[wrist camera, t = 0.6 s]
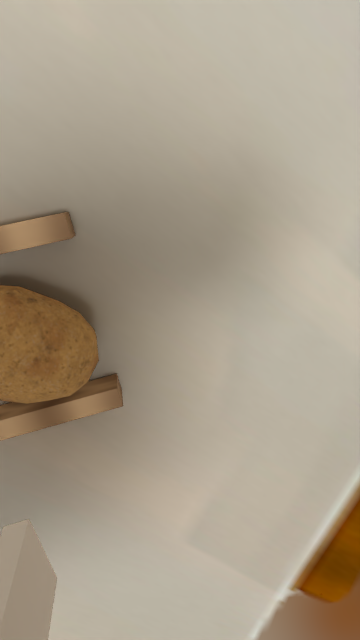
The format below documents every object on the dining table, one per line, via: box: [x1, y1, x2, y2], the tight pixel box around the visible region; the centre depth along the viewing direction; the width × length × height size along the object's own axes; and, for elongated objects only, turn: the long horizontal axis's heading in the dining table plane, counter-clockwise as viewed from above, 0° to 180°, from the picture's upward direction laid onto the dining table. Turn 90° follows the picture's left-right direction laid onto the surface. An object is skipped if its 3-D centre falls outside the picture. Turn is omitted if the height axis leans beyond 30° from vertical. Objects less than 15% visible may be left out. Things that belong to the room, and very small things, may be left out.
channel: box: [0, 212, 123, 441], centre depth 30 cm, size 14×18×3 cm
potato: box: [0, 285, 99, 404], centre depth 28 cm, size 10×14×8 cm
